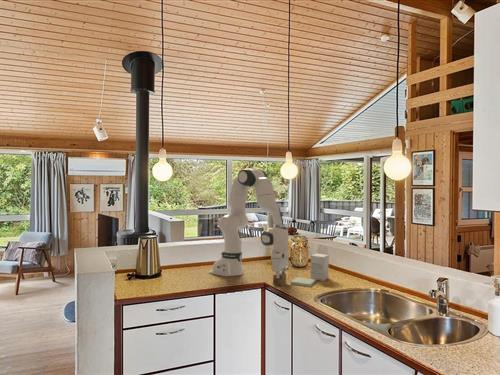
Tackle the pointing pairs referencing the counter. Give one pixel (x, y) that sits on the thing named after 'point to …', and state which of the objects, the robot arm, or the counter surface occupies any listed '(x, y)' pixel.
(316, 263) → the supplement box
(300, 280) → the plate
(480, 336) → the counter surface
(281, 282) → the block
